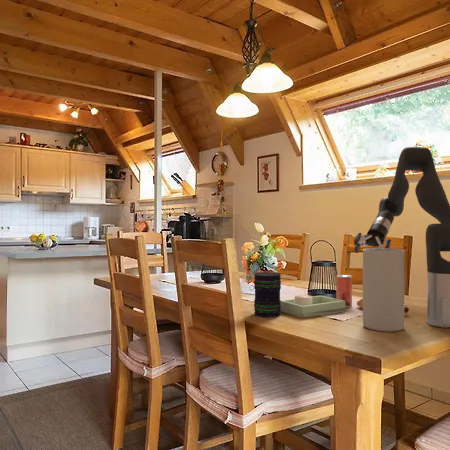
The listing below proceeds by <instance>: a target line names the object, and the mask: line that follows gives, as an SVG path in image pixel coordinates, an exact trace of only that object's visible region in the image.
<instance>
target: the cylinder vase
mask: <svg viewBox="0 0 450 450" xmlns="http://www.w3.org/2000/svg"><path fill="white" fill-rule="evenodd" d="M362 299H363V309H362V324H363V326H364V327H365V328H367V329H368V330H372V331H376V332H377V331H378V332H385V333H386V332H387V333H389V332H390V333H391V332H392V333H393V332H400V331H402V330H403V329H404V328H405V313H404V307H405V249H400V248H389V249H385V247H383V248H377V247H373V248H363V249H362Z"/></svg>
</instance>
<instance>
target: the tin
mask: <svg viewBox="0 0 450 450" xmlns="http://www.w3.org/2000/svg"><path fill="white" fill-rule="evenodd" d="M336 299H340V300H344V301H345V308H351V306H352V307H353V275H350V274H336Z"/></svg>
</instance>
